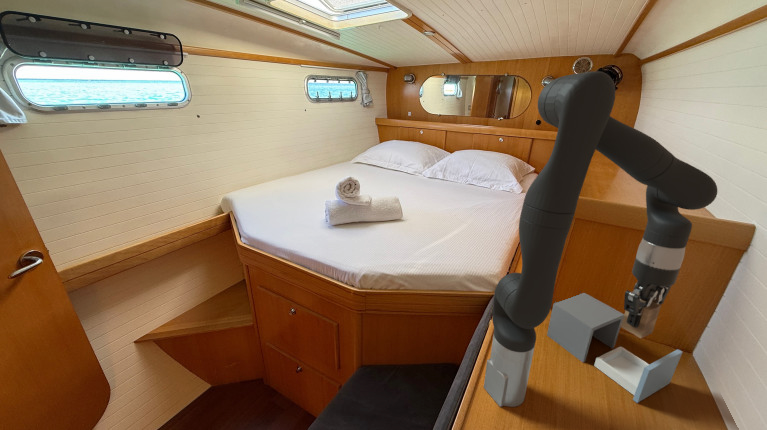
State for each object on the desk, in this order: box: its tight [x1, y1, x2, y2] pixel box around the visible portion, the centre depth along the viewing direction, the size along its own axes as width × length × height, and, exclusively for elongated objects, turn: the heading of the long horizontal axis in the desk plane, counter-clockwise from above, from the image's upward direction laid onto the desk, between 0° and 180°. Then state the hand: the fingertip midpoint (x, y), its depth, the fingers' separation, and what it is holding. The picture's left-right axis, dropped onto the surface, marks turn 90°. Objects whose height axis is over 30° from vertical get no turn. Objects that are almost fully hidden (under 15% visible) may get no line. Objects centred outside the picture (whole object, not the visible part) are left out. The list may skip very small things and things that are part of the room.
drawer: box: [593, 345, 683, 404], centre depth 79 cm, size 14×12×11 cm
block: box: [620, 300, 662, 339], centre depth 72 cm, size 4×4×8 cm
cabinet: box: [546, 292, 625, 363], centre depth 91 cm, size 14×12×12 cm
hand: (638, 321), depth 72 cm, fingers closed on block, 4 cm apart
